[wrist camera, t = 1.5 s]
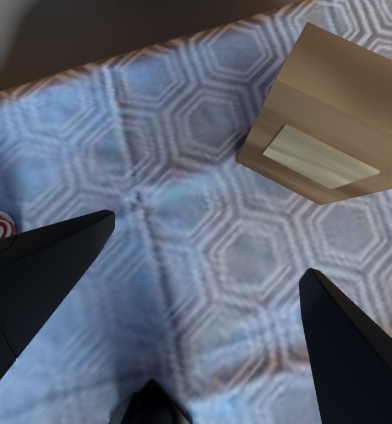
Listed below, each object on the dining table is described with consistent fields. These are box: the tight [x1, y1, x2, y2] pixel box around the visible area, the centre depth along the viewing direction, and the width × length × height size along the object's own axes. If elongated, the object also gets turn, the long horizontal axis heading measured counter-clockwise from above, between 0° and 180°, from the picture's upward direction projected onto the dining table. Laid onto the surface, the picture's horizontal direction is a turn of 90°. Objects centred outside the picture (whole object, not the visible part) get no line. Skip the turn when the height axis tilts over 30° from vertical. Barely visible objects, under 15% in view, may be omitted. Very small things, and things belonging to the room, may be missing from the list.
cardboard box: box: [236, 22, 392, 205], centre depth 18 cm, size 4×11×13 cm, turn 61°
